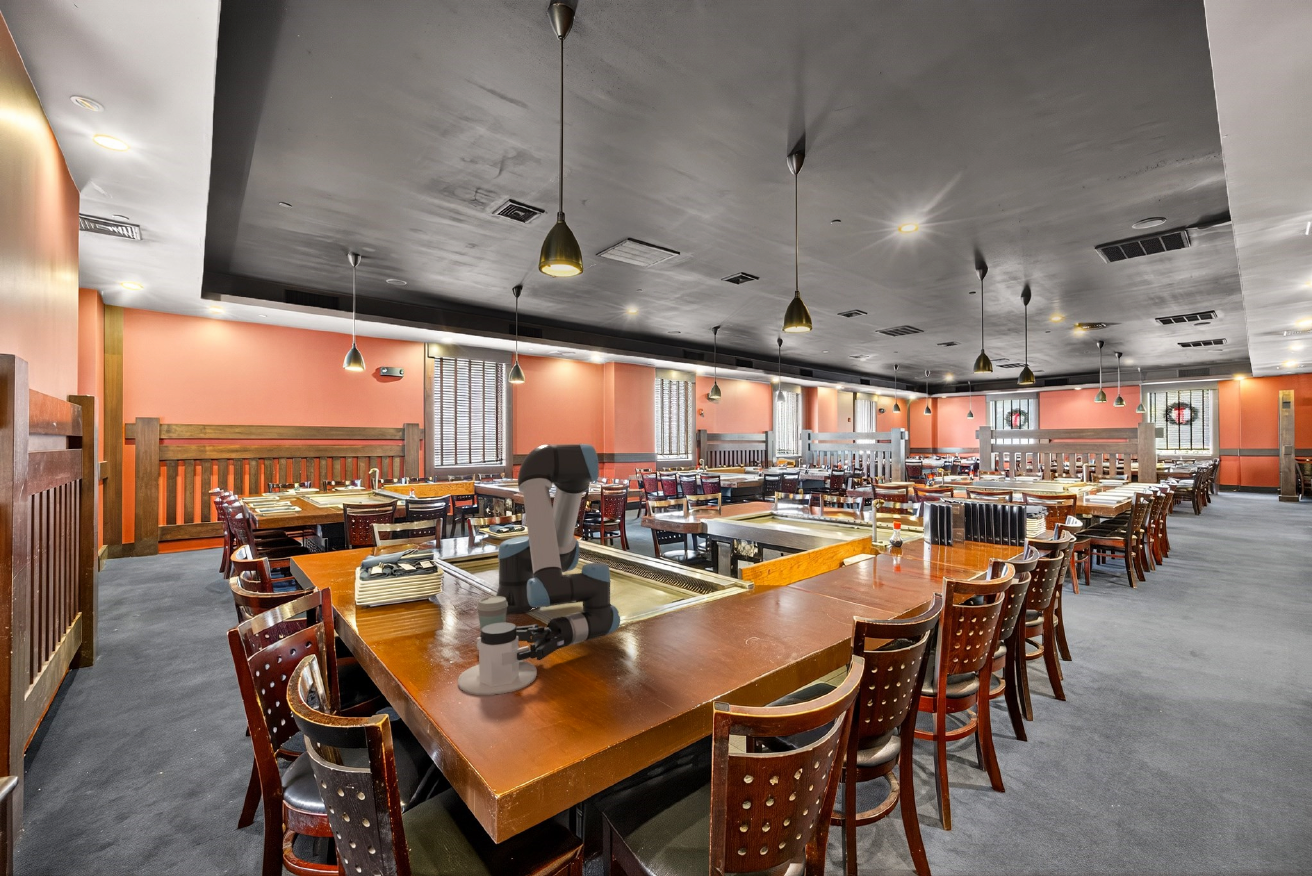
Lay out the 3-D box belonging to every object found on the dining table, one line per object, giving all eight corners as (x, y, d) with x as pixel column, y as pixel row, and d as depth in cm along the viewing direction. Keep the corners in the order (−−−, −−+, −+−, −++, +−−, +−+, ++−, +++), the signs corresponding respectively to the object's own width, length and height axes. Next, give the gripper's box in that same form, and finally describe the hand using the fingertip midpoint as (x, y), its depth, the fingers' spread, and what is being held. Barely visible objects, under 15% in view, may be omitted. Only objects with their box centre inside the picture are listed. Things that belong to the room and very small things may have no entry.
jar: (490, 670, 138) (489, 621, 138) (522, 671, 137) (522, 622, 137) (474, 687, 129) (473, 633, 129) (509, 688, 128) (508, 634, 128)
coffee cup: (493, 635, 166) (493, 594, 166) (514, 640, 162) (514, 597, 162) (470, 644, 159) (469, 601, 159) (492, 649, 154) (491, 605, 154)
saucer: (446, 677, 136) (446, 673, 136) (514, 658, 148) (514, 654, 148) (478, 703, 123) (478, 698, 123) (550, 679, 135) (550, 674, 135)
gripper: (594, 658, 139) (514, 683, 125) (542, 633, 157) (468, 652, 143) (593, 627, 139) (514, 649, 125) (542, 606, 157) (467, 623, 143)
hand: (489, 651), depth 134 cm, fingers open, 13 cm apart
